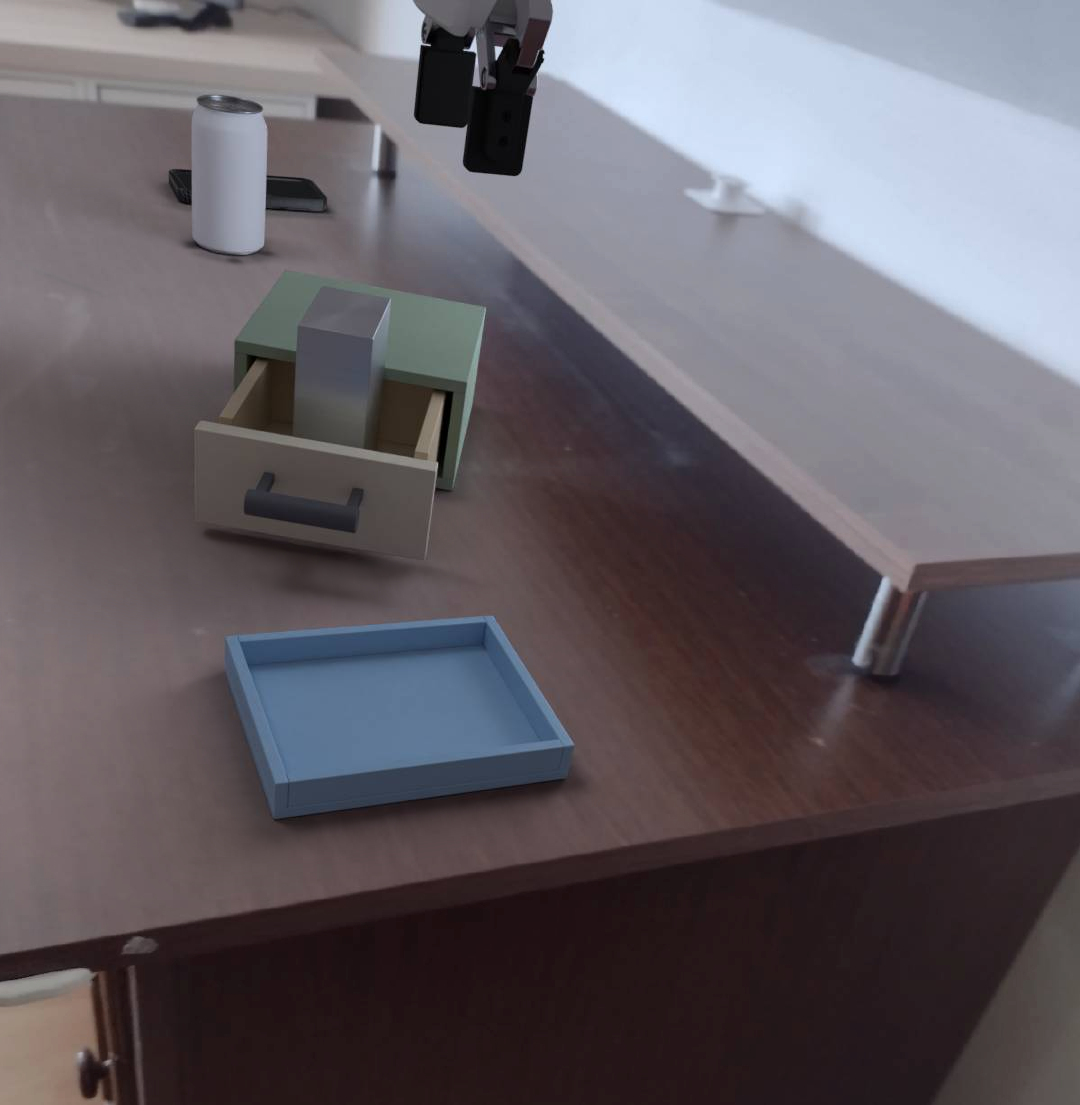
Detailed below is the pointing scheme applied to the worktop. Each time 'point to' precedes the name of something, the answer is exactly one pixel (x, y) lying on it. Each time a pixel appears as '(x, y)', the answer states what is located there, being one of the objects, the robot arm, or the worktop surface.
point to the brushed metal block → (341, 368)
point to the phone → (278, 191)
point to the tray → (390, 714)
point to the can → (228, 175)
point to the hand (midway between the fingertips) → (464, 147)
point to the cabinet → (411, 355)
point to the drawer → (320, 468)
